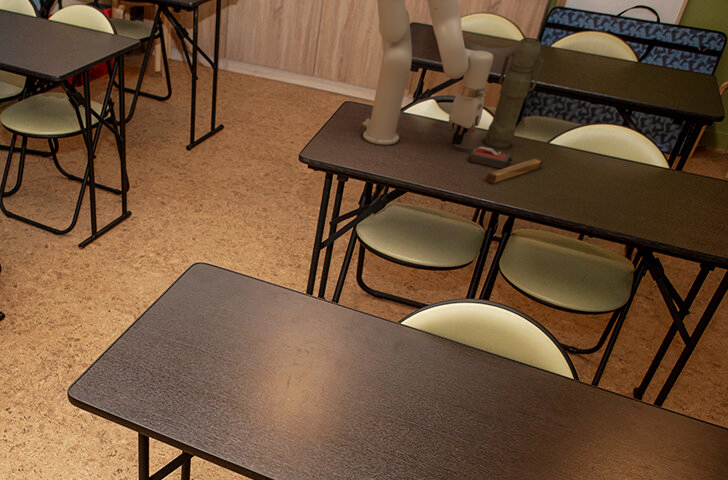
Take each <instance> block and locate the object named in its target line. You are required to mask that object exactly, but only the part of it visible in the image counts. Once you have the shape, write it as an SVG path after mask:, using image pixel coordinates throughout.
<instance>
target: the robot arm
mask: <svg viewBox="0 0 728 480" xmlns="http://www.w3.org/2000/svg"><path fill="white" fill-rule="evenodd" d="M376 2H377V14H378V15H377V16H378V31H379V34H380V36H381V45H382V57H381V63H380V69H379V74H378V79H377V85H376V88H375V89H376V90H375V95H374V99H373V106H372V110H371V115H370V118H366V119H365V121H363V122H362V126H364V127H366V130H364V131H363V134H362V137H363V139H364V140H365V141H367V142H369V143H372V144H374V145H375V144H376V145H381V146H384V145H385V146H387V145H394V144H396V143H398V141H399V139H400V136H399V134H398V133H397V129H398V123H399V118H400V114H401V111H402V106H403V101H404V97H405V92H406V87H407V83H408V80H409V75H410V71H411V68H412V60H413V45H412V35H411V33H412V32H411V22H410V14H409V11H408V10H407V7H406V0H376ZM426 2H427V6H428V10H429V15H430V19H431V24H432V27H433V28H432V29H433V33H434V35H435V38H436V42H437V47H438V51H439V56H440V59H441V65H442V68H443V69H442V70H443V73H444V74H445V76H446V77H447V78H449V79H452V80H458V79H461V78H462V77H463V78H462V81H461V85H460V89H459V91H458V92H457V93H456V96H454V97H455V98H454V100H453V102H452V104H451V107H450V111H449V114H448V123H449V124H450V125H451V126H452V132H453V136H452V141H451V144H452V145H453V146H454V145H455V144H456V145H461V144H462V143H463V140H464V137H465V134H467V133H475V131H476V127H478V126H479V125H480V123H481V119H482V114H483V111H484V105H485V104H484V103H485V98H484V97H486V95H487V93H486V92H485V88H486V85H487V81H488V79H489V76H490V72H491V69H492V65H493V62H494V55H493V53H492V52H489V51H486V50H473V49H469V48H466V46H465V41H464V36H463V30H462V29H463V26H462V17H461V11H460V5H459V1H458V0H426Z"/></svg>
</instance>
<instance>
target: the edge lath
mask: <svg viewBox="0 0 728 480" xmlns="http://www.w3.org/2000/svg"><path fill="white" fill-rule="evenodd" d="M543 162H544V160H542V159H541V158H538V157H535V158H533V159H530V160H525V161H522V162H520V163H517V164H514V165H510V166H508V167H505V168H504V169H501V168H500V169H498V170H494V171H492V172H488V173H487V175H486V178H485V182H488V183H490V184H495V183H498V182H501V181H504V180H508V179H511V178H514V177H516V176H520V175H522V174H526V173H529V172H531V171H535V170H538V169H540V168H541V167H542V165H543Z"/></svg>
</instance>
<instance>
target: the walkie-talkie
mask: <svg viewBox="0 0 728 480" xmlns="http://www.w3.org/2000/svg"><path fill="white" fill-rule="evenodd" d="M453 148H455V149H461V150H464V151H469V152H470V154H469V157H468V158H469V160H470V162H472V163H475V164H479V165H483V166H488V167H491V168H497V169H500V170H501V169H504V168H507V167H506V166H507V165H508V164H509V163H510V162H513V158H512V157H511V155H510V154H505V153H502V151H498V152H497V151H495V150H494V148H493V147H486V146H483V145H482V146H479V147H470V146H464V145H461V144H459V145H456V144H455V145H454V144H453Z"/></svg>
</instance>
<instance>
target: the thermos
mask: <svg viewBox="0 0 728 480" xmlns="http://www.w3.org/2000/svg"><path fill="white" fill-rule="evenodd" d="M540 52H541V40H539V39H537V38H534V37H524V38H521V39H520V40H519V42H518V44H516V47H515V49H514V51H512V52H509V53H508V54H507V55H505V58H504V60H503V61H504V62H503V65H502V68H501V72H500V76H499V79H498V83H499V85H500V90H499V93H500V95H499V98H498V102H497V105H496V109H495V110H494V111H495V112H494V115H493V118H492V121H491V123H490V124H489V125H488V128H487V132H486V137H485V139H484V143H485V144H486V145H487V146H488V147H490V148H495V149H508V148H510V147H511V143H512V140H513V139H514V136H515V133H516V131H517V130H516V129H517V128H516V126H517V122H518V119H519V117H520V113H521V111H522V108H523V105H524V101H525V99H526V98H527V97H528V95H529V92H530V91H534V89H535V87H536V85H537V81H538V79H539V76H540V73H541V70H542V67H543V64H544V58H543V56H541V55H540ZM511 56H512V59H511V62H510V67H509V68H508V71H507V72H506V70H507V67H508V63H509V60H510V57H511ZM538 61H539V63H540V64H539V66H538V70H537V72H536V75H535V77H534V81H533V73H534V68H535V67H536V64H537V62H538ZM505 73H506V74H505ZM532 83H533V84H532Z"/></svg>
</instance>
